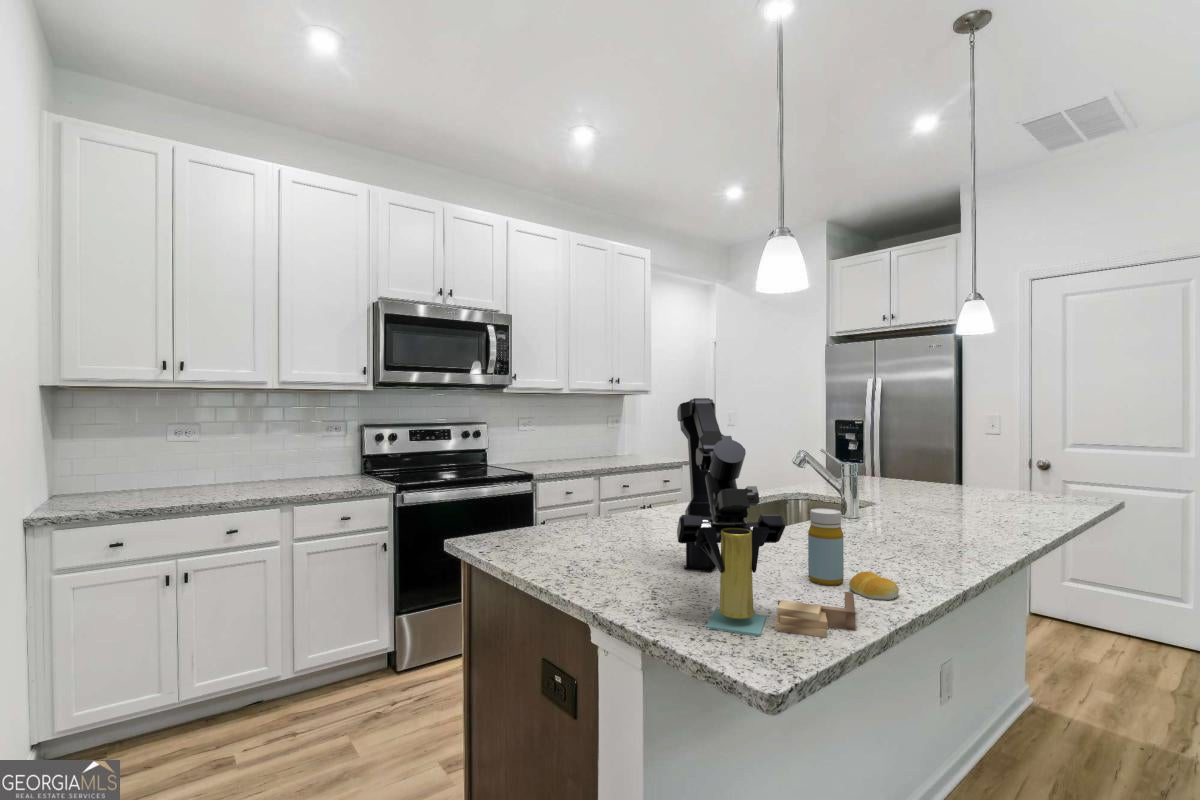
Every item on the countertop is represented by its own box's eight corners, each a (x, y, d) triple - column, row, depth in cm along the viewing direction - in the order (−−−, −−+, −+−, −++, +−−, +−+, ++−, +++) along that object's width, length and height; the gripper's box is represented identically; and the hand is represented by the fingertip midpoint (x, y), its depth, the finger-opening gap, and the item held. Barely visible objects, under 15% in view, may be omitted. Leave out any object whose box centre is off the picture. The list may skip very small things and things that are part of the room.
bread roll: (877, 604, 111) (877, 583, 111) (842, 590, 119) (842, 570, 119) (909, 598, 114) (909, 578, 114) (873, 585, 122) (873, 566, 122)
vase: (711, 612, 101) (711, 530, 101) (733, 604, 105) (732, 525, 105) (740, 622, 97) (740, 537, 97) (761, 613, 101) (761, 531, 100)
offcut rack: (775, 630, 97) (774, 609, 97) (783, 600, 112) (782, 581, 112) (856, 642, 92) (856, 619, 92) (853, 608, 108) (853, 589, 108)
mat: (705, 628, 98) (705, 626, 98) (715, 610, 107) (715, 608, 107) (760, 636, 95) (760, 634, 95) (766, 617, 103) (766, 615, 103)
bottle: (846, 587, 120) (846, 514, 120) (811, 585, 121) (810, 513, 122) (839, 577, 127) (839, 508, 127) (806, 575, 128) (806, 507, 128)
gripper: (679, 470, 105) (689, 547, 94) (782, 470, 105) (804, 546, 94) (673, 505, 113) (682, 580, 102) (768, 505, 113) (788, 579, 102)
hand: (738, 571), depth 100 cm, fingers closed on vase, 5 cm apart
